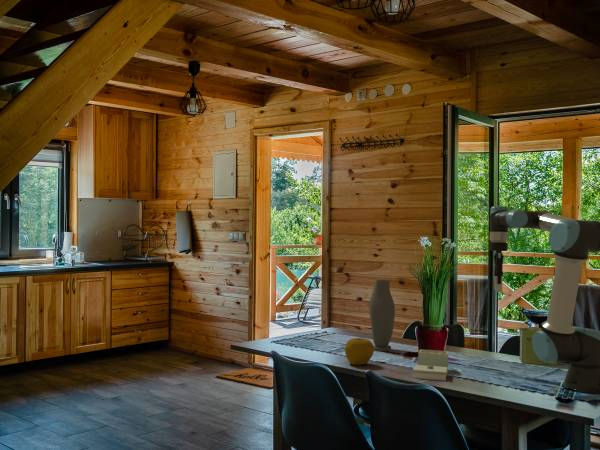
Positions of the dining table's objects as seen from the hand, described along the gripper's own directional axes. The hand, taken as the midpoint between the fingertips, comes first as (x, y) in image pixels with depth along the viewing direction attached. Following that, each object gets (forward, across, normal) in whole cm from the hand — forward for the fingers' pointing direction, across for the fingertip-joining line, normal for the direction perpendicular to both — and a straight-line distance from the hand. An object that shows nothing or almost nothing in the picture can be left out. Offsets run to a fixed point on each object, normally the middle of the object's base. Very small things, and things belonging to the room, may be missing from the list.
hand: (498, 290), depth 277 cm
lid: (+32, -25, +27) cm, 49 cm away
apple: (+34, -10, +59) cm, 69 cm away
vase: (+34, +34, +54) cm, 72 cm away
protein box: (+34, +26, -19) cm, 47 cm away
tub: (+34, -10, +27) cm, 44 cm away
